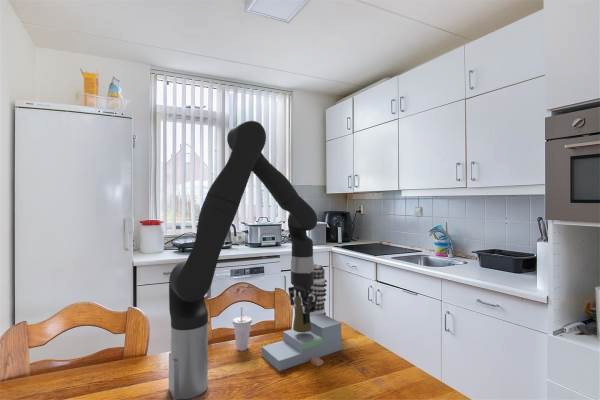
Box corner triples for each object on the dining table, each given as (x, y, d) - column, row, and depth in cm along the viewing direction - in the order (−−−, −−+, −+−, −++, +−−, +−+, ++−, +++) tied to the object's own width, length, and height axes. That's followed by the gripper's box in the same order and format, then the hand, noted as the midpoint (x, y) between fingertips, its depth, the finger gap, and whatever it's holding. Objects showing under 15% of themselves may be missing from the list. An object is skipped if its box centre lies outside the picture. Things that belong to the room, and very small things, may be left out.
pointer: (316, 366, 94) (316, 363, 94) (308, 360, 98) (308, 357, 98) (323, 364, 96) (323, 360, 96) (314, 358, 99) (314, 355, 99)
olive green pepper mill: (311, 325, 106) (312, 292, 106) (310, 332, 100) (310, 298, 100) (294, 324, 106) (294, 292, 106) (291, 332, 100) (292, 297, 100)
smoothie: (228, 351, 104) (229, 308, 104) (238, 342, 110) (238, 302, 110) (246, 353, 102) (246, 310, 102) (254, 345, 108) (255, 304, 108)
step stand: (279, 371, 91) (279, 340, 91) (261, 355, 101) (261, 327, 101) (341, 350, 105) (341, 323, 105) (321, 338, 114) (321, 313, 114)
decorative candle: (330, 334, 117) (330, 267, 118) (306, 336, 115) (306, 268, 115) (322, 325, 126) (322, 262, 126) (300, 327, 124) (300, 263, 124)
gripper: (281, 267, 107) (281, 317, 107) (305, 275, 95) (305, 332, 95) (299, 264, 111) (299, 313, 111) (324, 272, 99) (324, 326, 99)
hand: (302, 321), depth 103 cm, fingers closed on olive green pepper mill, 4 cm apart
